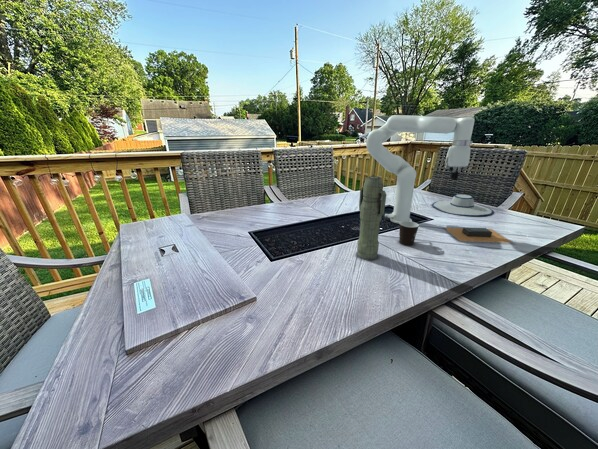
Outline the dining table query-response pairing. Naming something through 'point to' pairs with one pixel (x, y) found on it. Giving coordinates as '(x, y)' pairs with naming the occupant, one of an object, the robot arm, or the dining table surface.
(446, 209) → the sun hat
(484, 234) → the block
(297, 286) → the dining table surface
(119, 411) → the dining table surface
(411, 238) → the coffee mug
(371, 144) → the robot arm
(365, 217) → the thermos
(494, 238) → the cork mat
